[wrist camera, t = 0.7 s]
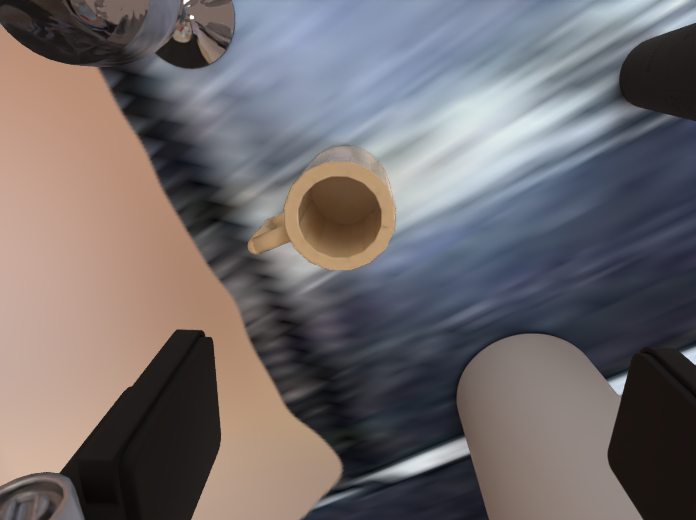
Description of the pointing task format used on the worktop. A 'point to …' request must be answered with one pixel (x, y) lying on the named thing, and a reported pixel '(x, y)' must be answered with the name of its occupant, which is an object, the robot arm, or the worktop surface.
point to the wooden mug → (334, 212)
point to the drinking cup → (663, 74)
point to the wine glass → (122, 30)
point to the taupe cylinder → (541, 432)
